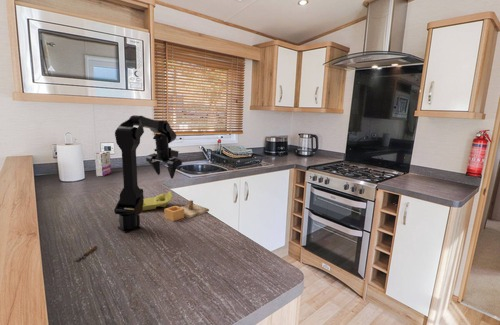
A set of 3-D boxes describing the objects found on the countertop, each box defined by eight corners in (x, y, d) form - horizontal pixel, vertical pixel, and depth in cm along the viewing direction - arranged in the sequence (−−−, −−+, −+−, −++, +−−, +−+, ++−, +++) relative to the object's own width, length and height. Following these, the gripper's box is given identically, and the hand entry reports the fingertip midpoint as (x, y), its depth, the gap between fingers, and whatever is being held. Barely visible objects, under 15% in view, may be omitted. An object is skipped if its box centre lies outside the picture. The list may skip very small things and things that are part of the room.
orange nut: (172, 221, 114) (172, 212, 113) (164, 217, 117) (164, 208, 117) (184, 217, 118) (184, 208, 118) (176, 213, 122) (175, 205, 121)
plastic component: (127, 208, 121) (128, 193, 128) (130, 219, 125) (130, 204, 132) (173, 202, 127) (171, 188, 134) (173, 212, 131) (172, 199, 139)
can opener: (94, 248, 89) (94, 245, 89) (100, 249, 89) (100, 246, 88) (71, 262, 80) (71, 259, 80) (77, 264, 80) (77, 260, 80)
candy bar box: (104, 173, 195) (103, 150, 192) (111, 173, 195) (110, 151, 192) (95, 176, 184) (94, 153, 181) (102, 176, 184) (101, 153, 181)
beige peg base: (189, 217, 118) (189, 207, 117) (172, 211, 125) (172, 201, 124) (208, 211, 127) (209, 201, 127) (192, 205, 135) (192, 195, 134)
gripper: (188, 145, 130) (190, 175, 135) (161, 139, 138) (164, 167, 143) (171, 151, 120) (174, 182, 126) (143, 145, 129) (147, 174, 134)
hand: (165, 176), depth 133 cm, fingers open, 9 cm apart
